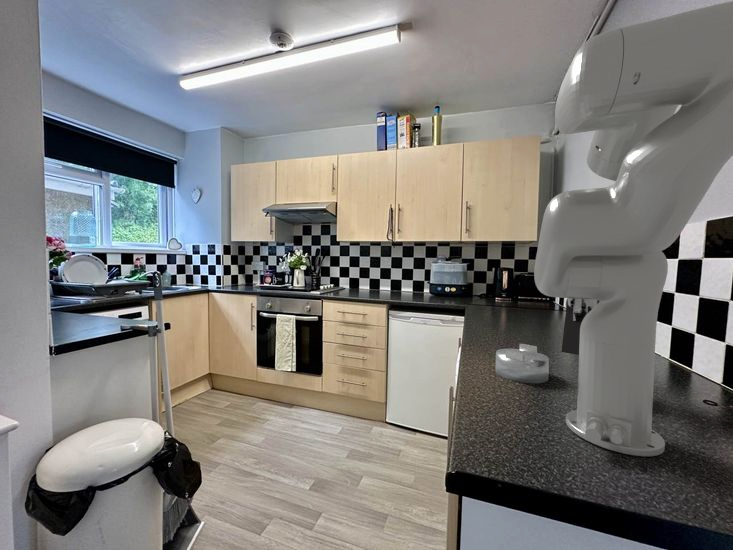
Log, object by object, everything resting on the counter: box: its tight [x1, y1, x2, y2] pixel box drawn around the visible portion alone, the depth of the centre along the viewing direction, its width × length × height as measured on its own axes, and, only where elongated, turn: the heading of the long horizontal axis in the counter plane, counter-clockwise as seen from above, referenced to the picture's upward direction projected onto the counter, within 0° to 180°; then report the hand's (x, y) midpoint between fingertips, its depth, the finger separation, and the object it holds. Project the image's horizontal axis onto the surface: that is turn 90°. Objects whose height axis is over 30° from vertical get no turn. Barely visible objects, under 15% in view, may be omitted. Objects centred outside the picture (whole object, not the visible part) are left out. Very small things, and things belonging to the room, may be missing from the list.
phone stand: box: [561, 298, 600, 356], centre depth 70 cm, size 9×6×12 cm, turn 135°
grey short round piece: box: [495, 343, 550, 384], centre depth 78 cm, size 12×12×7 cm
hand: (581, 338), depth 70 cm, fingers closed on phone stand, 1 cm apart
